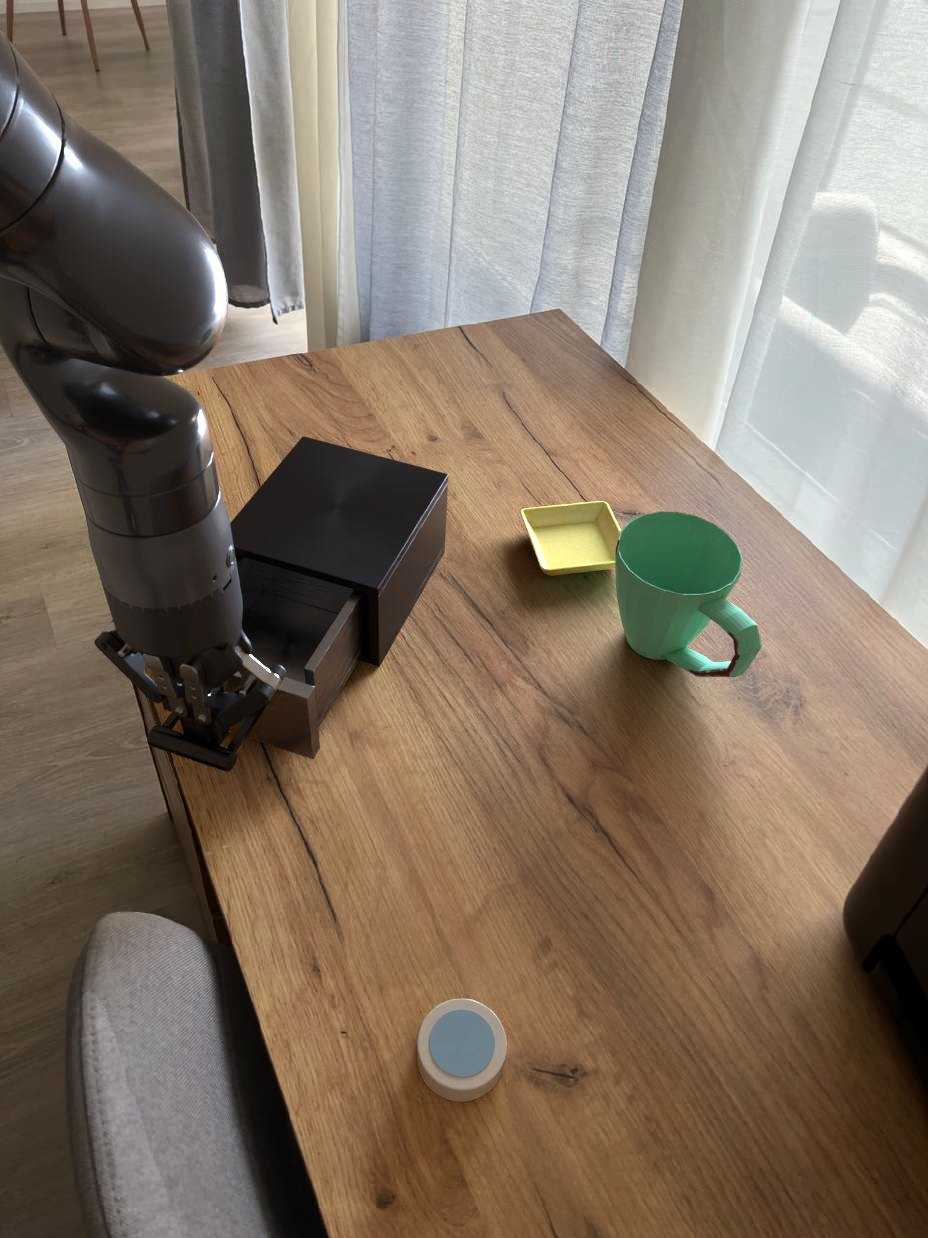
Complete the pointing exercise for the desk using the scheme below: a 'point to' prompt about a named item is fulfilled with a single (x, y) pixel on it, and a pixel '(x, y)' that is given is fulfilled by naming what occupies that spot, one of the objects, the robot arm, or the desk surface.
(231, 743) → the drawer
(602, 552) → the yellow square dish
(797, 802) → the desk surface
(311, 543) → the black box
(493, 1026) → the button
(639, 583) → the mug
